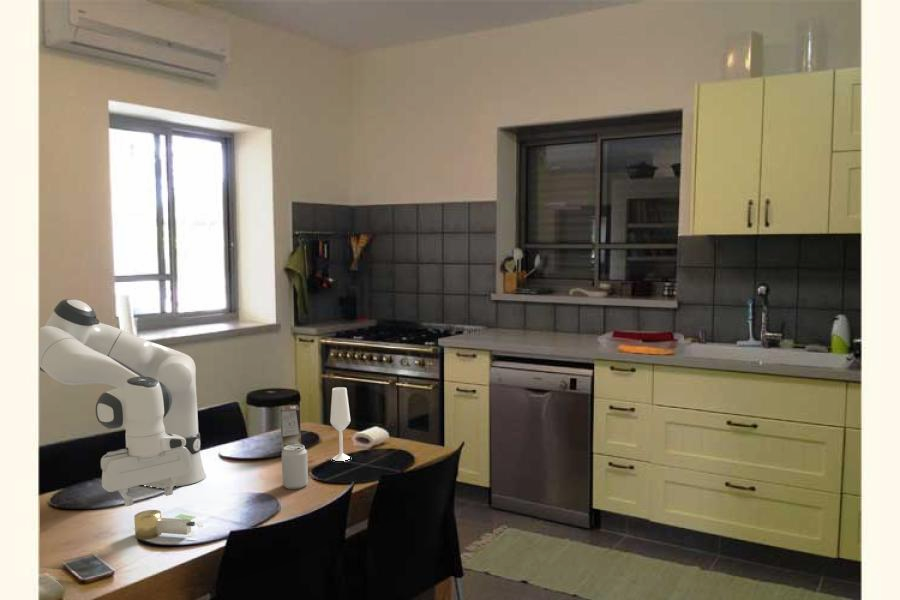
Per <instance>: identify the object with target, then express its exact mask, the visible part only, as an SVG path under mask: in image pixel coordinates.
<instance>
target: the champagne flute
mask: <svg viewBox="0 0 900 600" xmlns="http://www.w3.org/2000/svg"><path fill="white" fill-rule="evenodd" d="M329 419H330V421H329V422H330V424H331V426H332V427H333V428H334V429H335V430H336V431H338V444H339V453H338V454H337V455H335V456H334V457H332V458H331V460H332V459H333V460H335V461H344V462H346V461H345V460H348V459H350V457H351V456H349V455H347V454H345V453H344V442H343V441H344V440H343V431H344V430H346V428H347V427H348V426H349V425H350V423H351V414H350V406H349V396H348V390H347V387H344V386H343V387H342V386H340V387H339V386H338V387H333V388H332V390H331V403H330V418H329ZM335 461H334V462H335ZM348 461H349V460H348Z"/></svg>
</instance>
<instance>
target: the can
mask: <svg viewBox="0 0 900 600" xmlns="http://www.w3.org/2000/svg"><path fill="white" fill-rule="evenodd" d="M308 470H309V466H308V450H307V449H306V448H305V445H304V444H301V445H299V444H295V445H288V446H285V447H284V451H283V452H282V451H281V471H282V473H281V474H282V477H281V478H282V485H283V487H285V488H286V489H289V490H299V489H302V488H303V489H304V488H305V487H306V485H308V483H309V471H308Z"/></svg>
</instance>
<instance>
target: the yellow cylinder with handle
mask: <svg viewBox="0 0 900 600" xmlns="http://www.w3.org/2000/svg"><path fill="white" fill-rule="evenodd" d="M133 520H134V536H135V538H136V539H138V540H151V539H153V538H157V537H159V536H160V535H162V534H172V535H183V536H185V535H186V536H188V535H189V534H190V533H191V532H192V527H194V526H195V525H196V523H195V522H196V521H191V520H192V519H191V520H187V519H181V518H170V517H169V518H168V517H162V511H160V510H159V509H148V510H143V511H140V512H137V513H135V515H134V517H133Z"/></svg>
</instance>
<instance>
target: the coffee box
mask: <svg viewBox="0 0 900 600" xmlns="http://www.w3.org/2000/svg"><path fill="white" fill-rule="evenodd" d="M279 409H280V410H279V411H280V412H279V413H280V435H281V439H280V440H281V453H282V452H283V451H284V447H285V446H288V445H295V444H299V445H302V436H301V433H302V432H301V430H302V429H301V409H300V407H299V405H298V404H290V405H281V406H280V407H279Z"/></svg>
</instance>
